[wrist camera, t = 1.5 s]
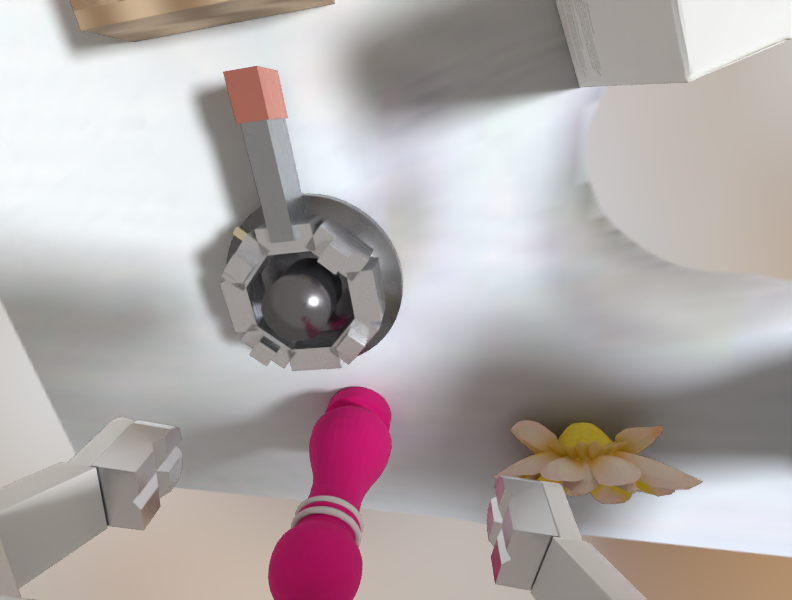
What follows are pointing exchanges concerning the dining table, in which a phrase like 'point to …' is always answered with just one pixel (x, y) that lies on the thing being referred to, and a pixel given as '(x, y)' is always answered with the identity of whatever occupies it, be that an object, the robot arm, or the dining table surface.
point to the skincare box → (667, 37)
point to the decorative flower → (595, 462)
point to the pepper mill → (334, 501)
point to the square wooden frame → (174, 15)
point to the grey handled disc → (291, 239)
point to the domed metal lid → (322, 277)
